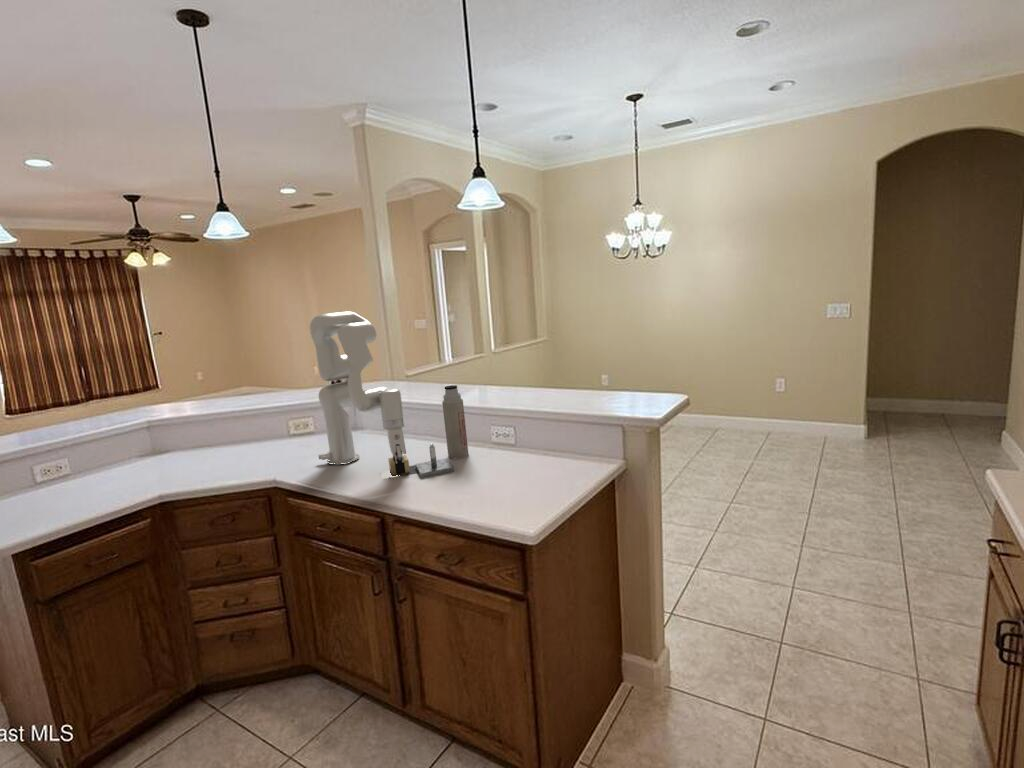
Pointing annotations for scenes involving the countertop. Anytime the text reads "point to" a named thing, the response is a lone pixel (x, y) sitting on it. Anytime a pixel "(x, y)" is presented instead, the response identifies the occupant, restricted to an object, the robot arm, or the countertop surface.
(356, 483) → the countertop surface
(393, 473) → the collar
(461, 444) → the thermos bottle
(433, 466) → the grey peg stand
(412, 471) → the mat
